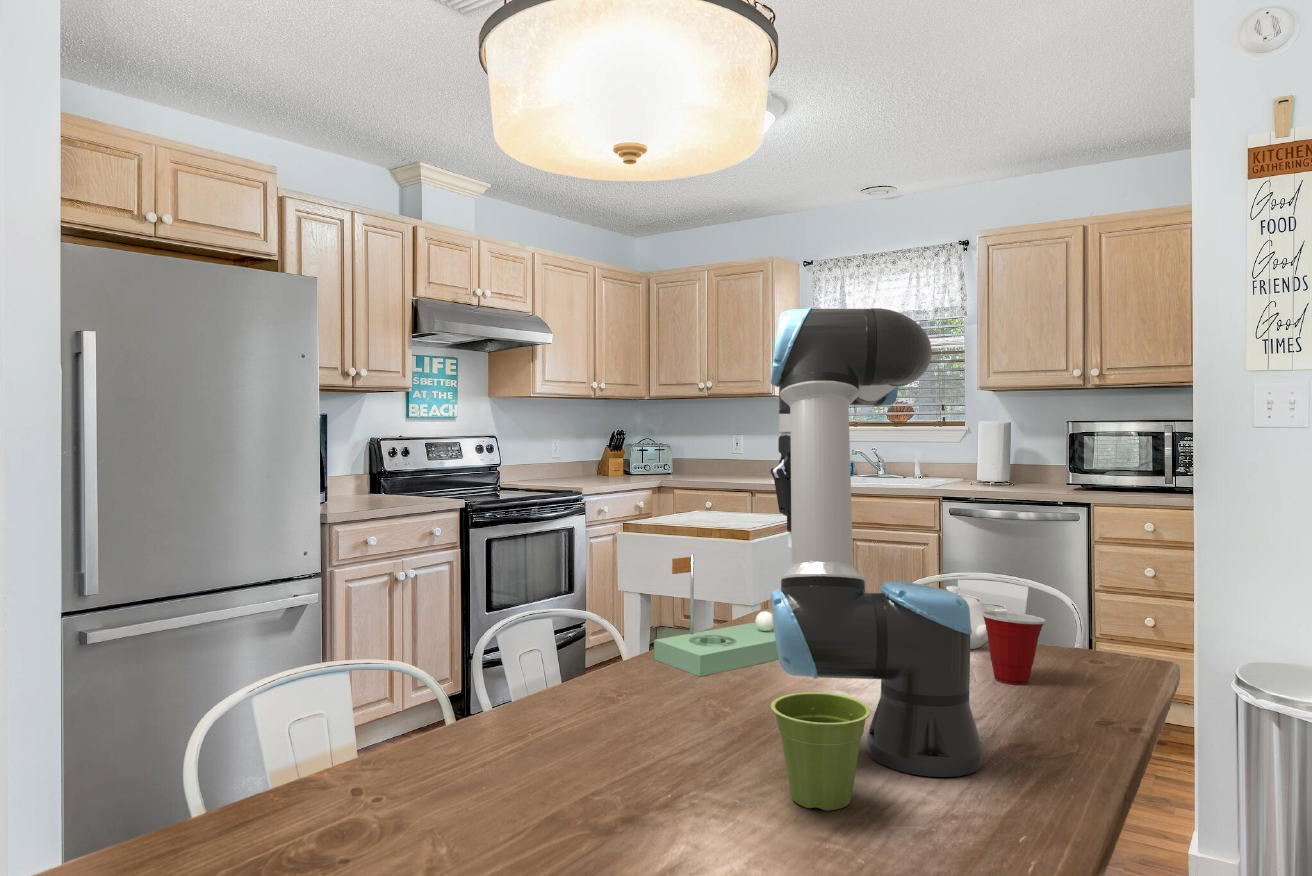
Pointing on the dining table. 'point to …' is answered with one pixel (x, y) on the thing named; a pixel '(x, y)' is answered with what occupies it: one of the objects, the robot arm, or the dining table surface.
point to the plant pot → (820, 746)
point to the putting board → (717, 649)
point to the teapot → (975, 618)
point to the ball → (764, 621)
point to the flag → (688, 566)
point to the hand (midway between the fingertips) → (795, 547)
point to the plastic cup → (1012, 644)
